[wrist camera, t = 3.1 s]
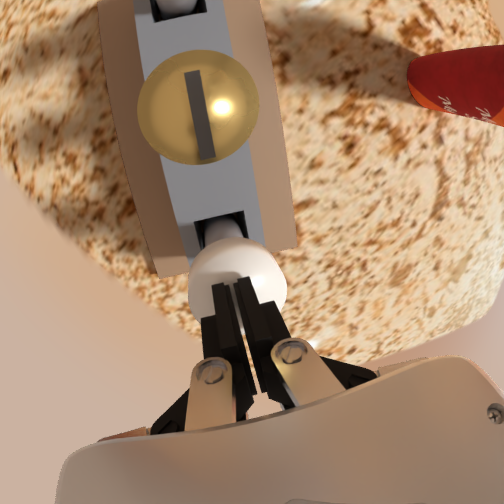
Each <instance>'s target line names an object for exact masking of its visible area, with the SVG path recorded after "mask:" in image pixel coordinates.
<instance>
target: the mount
mask: <svg viewBox="0 0 504 504" xmlns="http://www.w3.org/2000/svg"><path fill="white" fill-rule="evenodd" d="M97 6H98V19H99V30H100V39H101V48H102V55H103V63H104V70H105V76H106V82H107V88H108V94H109V99H110V105H111V110H112V115H113V120H114V124H115V129H116V134H117V138H118V142H119V147H120V151H121V155H122V159H123V163H124V167H125V171H126V175H127V178H128V182H129V186H130V189H131V193H132V196H133V200H134V203H135V207H136V210H137V213H138V217H139V220H140V223H141V226H142V230H143V233H144V236H145V239H146V242H147V245H148V248H149V251H150V254H151V257H152V260H153V262H154V265H155V268H156V271H157V274H158V276H159V279H162V278H166V277H170V276H175V275H179V274H184V273H188V272H189V270H190V267H191V264H192V262H193V260H194V259H195V257H196V256H197V255H198V254H199V253H200V252H201V251H202V250H203V249H204V248H205V237H204V221H205V219H207V218H211V217H216V216H220V215H224V214H229V213H232V214H233V215H234V217H235V218H236V221H237V223H238V226H239V228H240V231H241V233H242V235H243V238H248V239H251V240H254V241H256V242H258V243H260V244H262V245H263V246H265V247H266V248H267V249H268V250H269V251H270V253H273V252H278V251H282V250H286V249H290V248H295V247H298V246H297V236H296V227H295V218H294V209H293V201H292V192H291V184H290V176H289V169H288V161H287V154H286V147H285V140H284V133H283V127H282V120H281V114H280V107H279V101H278V95H277V89H276V83H275V78H274V72H273V66H272V61H271V55H270V50H269V45H268V40H267V35H266V30H265V25H264V20H263V15H262V11H261V6H260V1H259V0H197V11H196V14H194V15H188V16H183V17H178V18H174V19H169V20H165V21H164V20H163V19H162V17H161V14H160V10H159V7H158V4H157V1H156V0H102V1H99V2H97ZM190 50H212V51H217V52H220V53H223V54H226V55H228V56H230V57H232V58H233V59H235V60H236V61H238V62H239V63H240V64H241V65H242V66H243V67H244V68H245V69H246V70H247V71H248V72H249V74H250V75H251V77H252V78H253V80H254V82H255V85H256V87H257V90H258V94H259V115H258V119H257V122H256V125H255V127H254V130H253V132H252V133H251V135H250V137H249V138H248V139H247V141H246V142H245V143H244V144H243V145H242V146H241V147H240V148H239V149H238V150H237V151H235V152H234V153H233V154H231V155H230V156H228V157H226V158H224V159H222V160H219V161H217V162H214V163H210V164H204V165H186V164H181V163H177V162H174V161H171V160H169V159H167V158H165V157H164V156H162V155H161V154H159V153H158V152H157V151H155V150H154V149H153V148H152V147H151V146H150V144H149V143H148V142H147V140H146V139H145V137H144V136H143V134H142V131H141V129H140V126H139V122H138V116H137V104H138V98H139V94H140V91H141V88H142V86H143V84H144V82H145V81H146V79H147V77H148V76H149V75H150V73H151V72H152V71H153V70H154V69H155V68H156V67H157V66H158V65H159V64H161V63H162V62H163V61H165V60H166V59H168V58H170V57H172V56H174V55H176V54H179V53H182V52H185V51H190Z"/></svg>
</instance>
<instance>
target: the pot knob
mask: <svg viewBox="0 0 504 504" xmlns="http://www.w3.org/2000/svg"><path fill="white" fill-rule="evenodd" d="M258 115H259V94H258V90H257V87H256V85H255V82H254V80H253V78H252V77H251V75H250V74H249V72H248V71H247V70H246V69H245V68H244V67H243V66H242V65H241V64H240V63H239V62H238V61H236V60H235V59H233V58H232V57H230V56H228V55H226V54H223V53H220V52H217V51H212V50H190V51H185V52H182V53H179V54H176V55H174V56H172V57H170V58H168V59H166V60H165V61H163V62H162V63H161V64H159V65H158V66H157V67H156V68H155V69H154V70H153V71H152V72H151V73H150V75H149V76H148V77H147V79H146V81H145V82H144V84H143V86H142V88H141V91H140V94H139V98H138V104H137V116H138V122H139V126H140V129H141V131H142V134H143V136H144V137H145V139H146V140H147V142H148V143H149V144H150V146H151V147H152V148H153V149H154V150H155V151H157V152H158V153H159V154H161V155H162V156H164V157H165V158H167V159H169V160H171V161H174V162H177V163H181V164H186V165H204V164H210V163H214V162H217V161H219V160H222V159H224V158H226V157H228V156H230V155H231V154H233V153H234V152H235V151H237V150H238V149H239V148H240V147H241V146H242V145H243V144H244V143H245V142H246V141H247V139H248V138H249V137H250V135H251V133H252V132H253V130H254V127H255V125H256V122H257V119H258Z"/></svg>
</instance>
